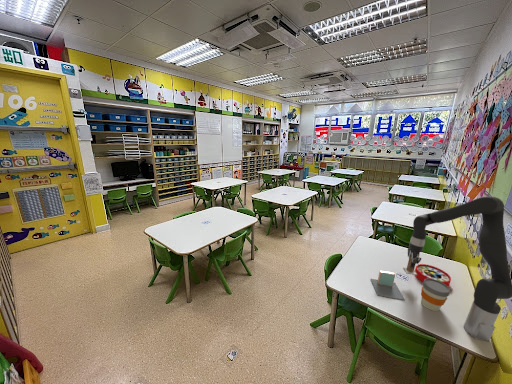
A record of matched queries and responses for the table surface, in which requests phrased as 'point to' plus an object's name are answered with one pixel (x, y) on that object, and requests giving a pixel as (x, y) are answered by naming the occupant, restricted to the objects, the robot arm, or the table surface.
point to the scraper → (410, 268)
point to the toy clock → (432, 274)
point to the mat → (387, 290)
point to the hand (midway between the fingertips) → (411, 265)
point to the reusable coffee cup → (434, 294)
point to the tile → (386, 278)
